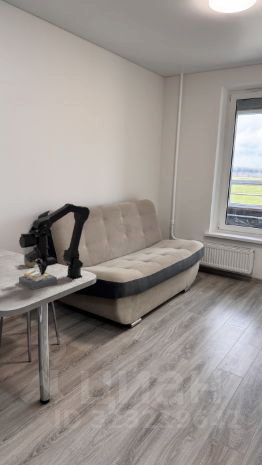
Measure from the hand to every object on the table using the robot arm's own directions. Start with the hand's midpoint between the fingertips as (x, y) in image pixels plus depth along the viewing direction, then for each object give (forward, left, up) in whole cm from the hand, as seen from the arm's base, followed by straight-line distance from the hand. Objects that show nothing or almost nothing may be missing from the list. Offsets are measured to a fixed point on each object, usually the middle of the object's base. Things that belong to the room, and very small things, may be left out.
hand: (42, 274), depth 163 cm
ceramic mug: (-13, -33, -6) cm, 36 cm away
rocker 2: (+2, -4, -1) cm, 5 cm away
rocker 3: (+2, 0, -1) cm, 2 cm away
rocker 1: (+2, -9, -1) cm, 9 cm away
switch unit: (0, -4, -6) cm, 7 cm away
